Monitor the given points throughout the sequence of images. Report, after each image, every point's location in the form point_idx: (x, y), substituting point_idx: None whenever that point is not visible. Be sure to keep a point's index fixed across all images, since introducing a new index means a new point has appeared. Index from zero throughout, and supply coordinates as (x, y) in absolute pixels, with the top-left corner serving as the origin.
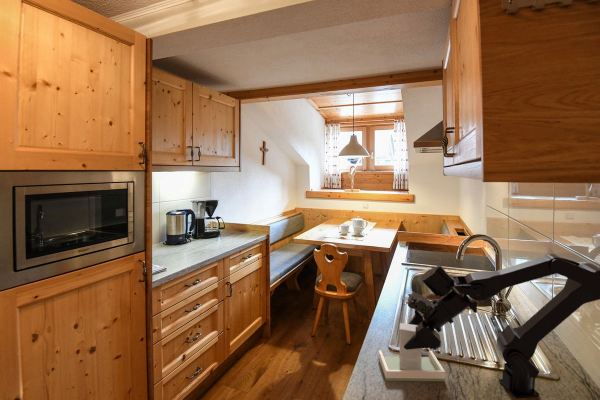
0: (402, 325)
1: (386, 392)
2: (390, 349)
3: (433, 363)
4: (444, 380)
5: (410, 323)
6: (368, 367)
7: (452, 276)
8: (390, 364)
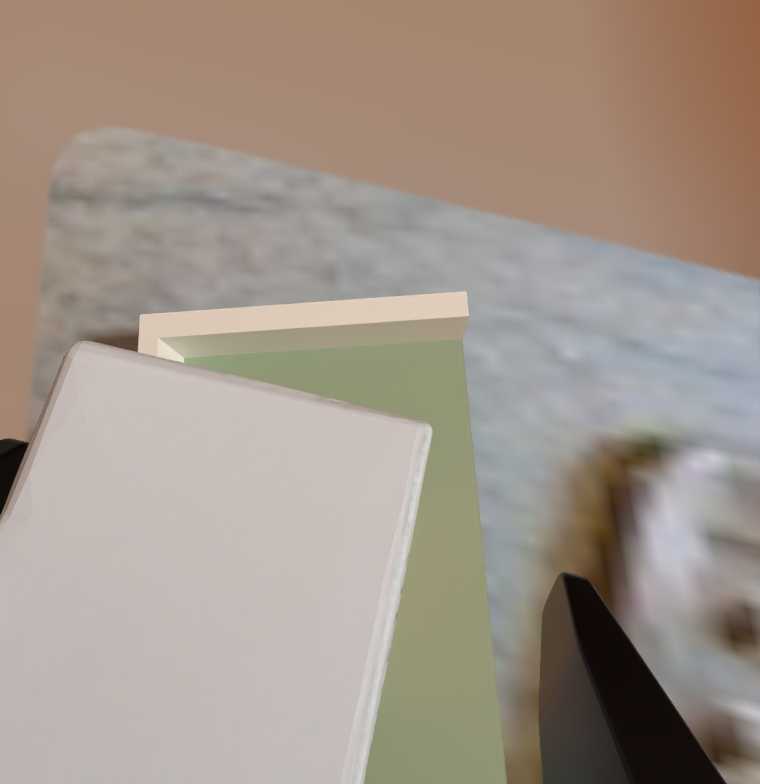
0: (271, 454)
1: (55, 329)
2: (632, 454)
3: None
4: None
5: (619, 777)
6: (336, 237)
7: None
8: (347, 400)
